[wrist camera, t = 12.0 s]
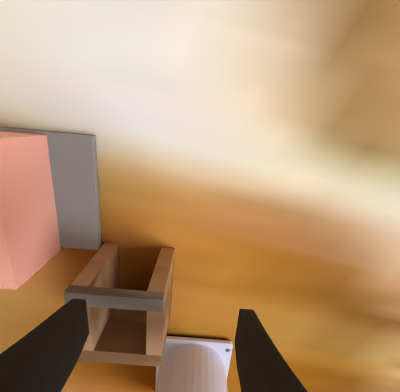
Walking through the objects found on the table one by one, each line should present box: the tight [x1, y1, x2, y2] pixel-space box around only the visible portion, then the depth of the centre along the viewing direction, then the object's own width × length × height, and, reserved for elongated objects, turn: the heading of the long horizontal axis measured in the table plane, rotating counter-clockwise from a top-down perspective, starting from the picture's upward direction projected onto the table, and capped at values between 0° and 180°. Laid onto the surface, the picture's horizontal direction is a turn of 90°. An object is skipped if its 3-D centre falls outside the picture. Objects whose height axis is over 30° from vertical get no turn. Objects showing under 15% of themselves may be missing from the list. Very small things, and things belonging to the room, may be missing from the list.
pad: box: [0, 127, 102, 251], centre depth 19 cm, size 10×10×1 cm
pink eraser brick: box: [0, 131, 61, 290], centre depth 16 cm, size 10×3×5 cm, turn 175°
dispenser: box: [64, 243, 174, 367], centre depth 18 cm, size 7×6×6 cm
